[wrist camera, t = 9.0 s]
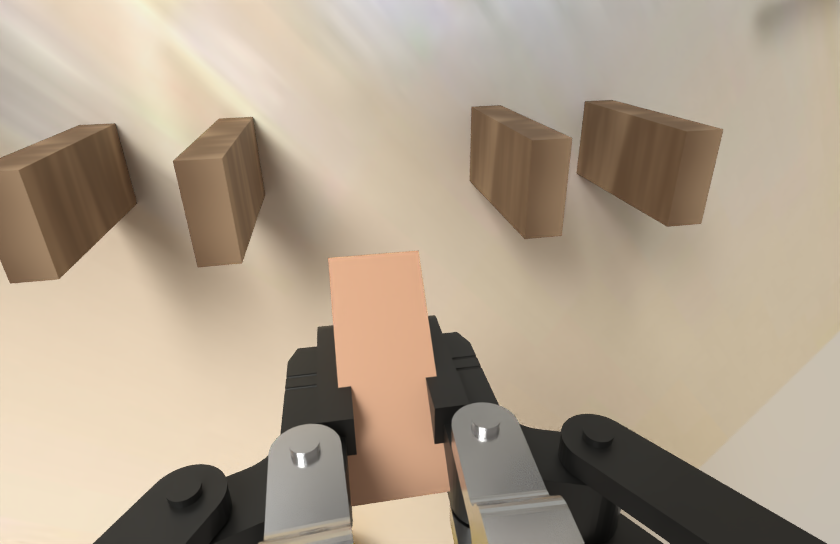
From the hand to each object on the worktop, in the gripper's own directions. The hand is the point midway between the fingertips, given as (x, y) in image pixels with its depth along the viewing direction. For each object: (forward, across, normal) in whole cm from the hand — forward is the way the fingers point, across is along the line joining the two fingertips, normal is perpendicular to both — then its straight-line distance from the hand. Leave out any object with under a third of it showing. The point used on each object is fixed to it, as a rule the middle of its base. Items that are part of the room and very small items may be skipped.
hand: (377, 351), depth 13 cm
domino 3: (+5, 0, +7) cm, 8 cm away
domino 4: (+23, -10, 0) cm, 25 cm away
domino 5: (+23, -18, 0) cm, 29 cm away
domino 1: (+23, +14, 0) cm, 27 cm away
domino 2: (+23, +6, 0) cm, 24 cm away
